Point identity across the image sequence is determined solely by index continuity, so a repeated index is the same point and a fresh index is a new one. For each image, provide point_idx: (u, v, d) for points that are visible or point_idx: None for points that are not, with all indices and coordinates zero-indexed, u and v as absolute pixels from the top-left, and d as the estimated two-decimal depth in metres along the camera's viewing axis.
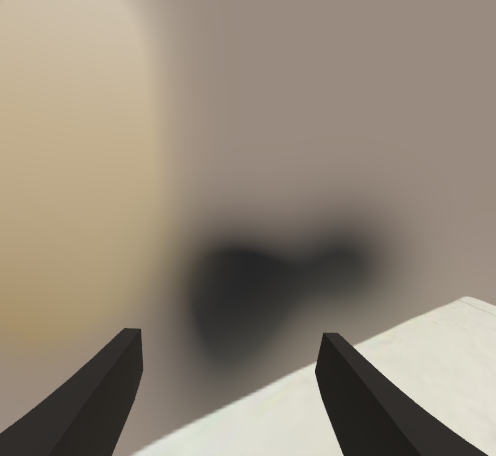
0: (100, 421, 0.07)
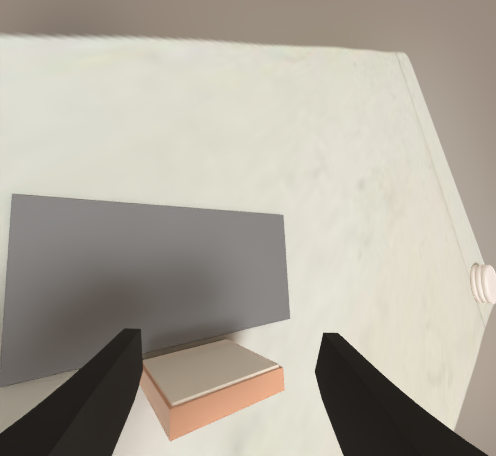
0: (100, 421, 0.07)
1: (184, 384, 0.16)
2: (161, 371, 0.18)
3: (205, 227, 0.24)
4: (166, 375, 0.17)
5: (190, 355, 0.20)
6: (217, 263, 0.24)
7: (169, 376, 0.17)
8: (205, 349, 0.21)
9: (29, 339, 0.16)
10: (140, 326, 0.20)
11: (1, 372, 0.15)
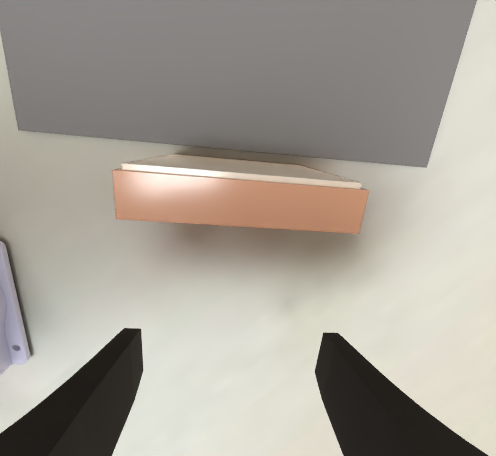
0: (100, 421, 0.07)
1: (174, 163, 0.09)
2: (173, 157, 0.12)
3: None
4: (171, 158, 0.11)
5: (230, 160, 0.13)
6: (307, 21, 0.13)
7: (173, 159, 0.11)
8: (257, 162, 0.14)
9: (36, 80, 0.13)
10: (169, 104, 0.14)
11: (16, 113, 0.13)
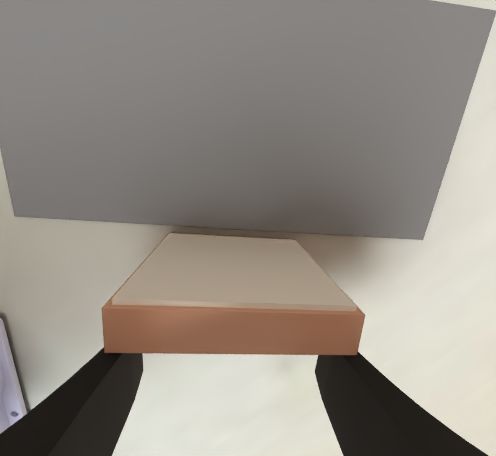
0: (100, 421, 0.07)
1: (167, 277, 0.09)
2: (168, 250, 0.12)
3: (288, 27, 0.12)
4: (164, 257, 0.11)
5: (226, 244, 0.13)
6: (301, 110, 0.13)
7: (167, 259, 0.11)
8: (253, 243, 0.14)
9: (31, 171, 0.13)
10: (164, 189, 0.14)
11: (13, 201, 0.13)
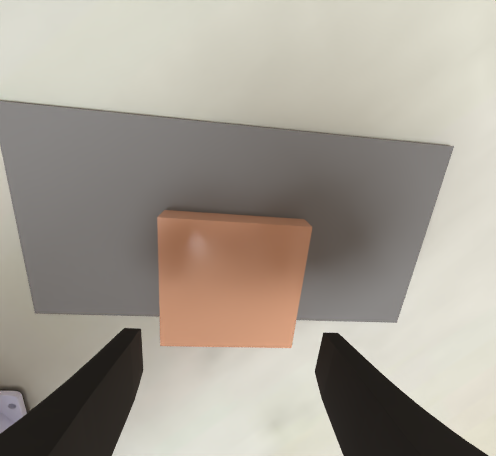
0: (100, 421, 0.07)
1: None
2: None
3: (273, 164, 0.14)
4: None
5: None
6: None
7: None
8: None
9: (51, 278, 0.15)
10: None
11: (34, 301, 0.15)
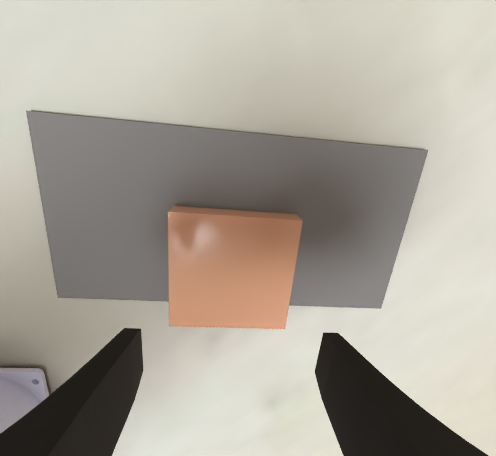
0: (100, 421, 0.07)
1: None
2: None
3: (268, 165, 0.16)
4: None
5: None
6: None
7: None
8: None
9: (72, 266, 0.17)
10: None
11: (57, 287, 0.17)
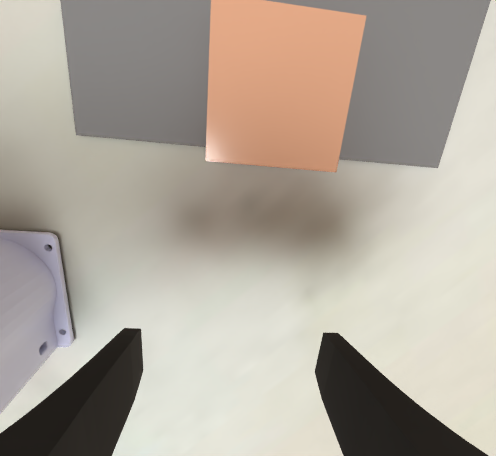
0: (100, 421, 0.07)
1: None
2: None
3: None
4: None
5: None
6: None
7: None
8: None
9: (94, 91, 0.15)
10: None
11: (75, 120, 0.15)
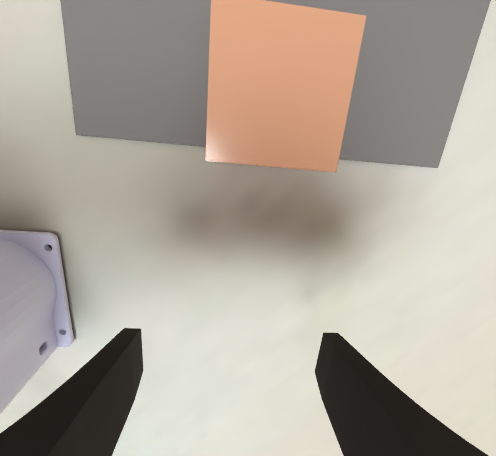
0: (100, 421, 0.07)
1: None
2: None
3: None
4: None
5: None
6: None
7: None
8: None
9: (94, 91, 0.15)
10: None
11: (75, 120, 0.15)
